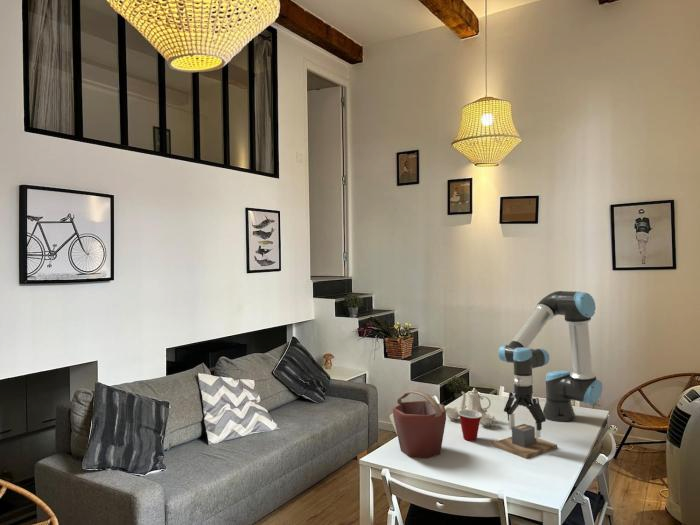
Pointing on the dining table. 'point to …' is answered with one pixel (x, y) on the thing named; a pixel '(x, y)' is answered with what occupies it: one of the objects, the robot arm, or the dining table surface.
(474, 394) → the chinaware
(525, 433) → the grey box
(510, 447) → the hub base
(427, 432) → the bucket
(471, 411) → the plastic cup
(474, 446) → the dining table surface
